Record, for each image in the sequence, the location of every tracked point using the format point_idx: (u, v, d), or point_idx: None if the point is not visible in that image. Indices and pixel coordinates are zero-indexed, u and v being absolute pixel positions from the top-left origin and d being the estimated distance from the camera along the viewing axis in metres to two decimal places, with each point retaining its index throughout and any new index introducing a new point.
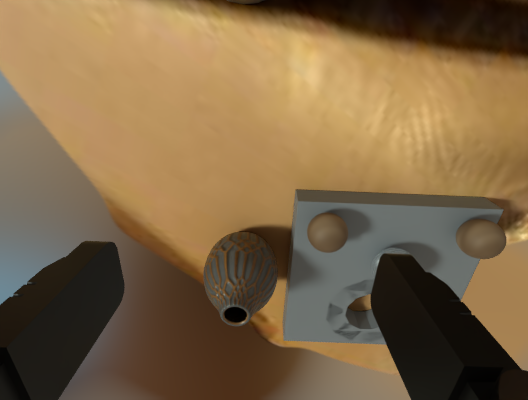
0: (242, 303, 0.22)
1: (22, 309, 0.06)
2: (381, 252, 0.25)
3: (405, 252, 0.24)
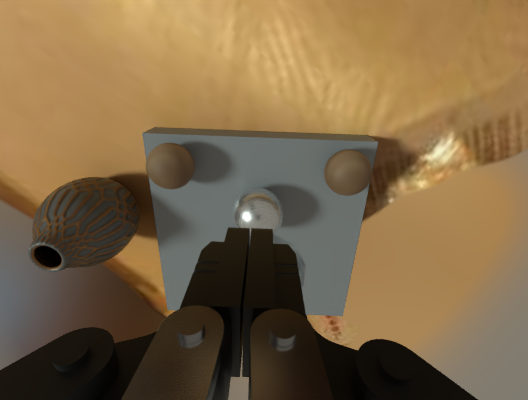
0: (51, 241, 0.18)
1: (226, 279, 0.07)
2: None
3: (264, 190, 0.21)
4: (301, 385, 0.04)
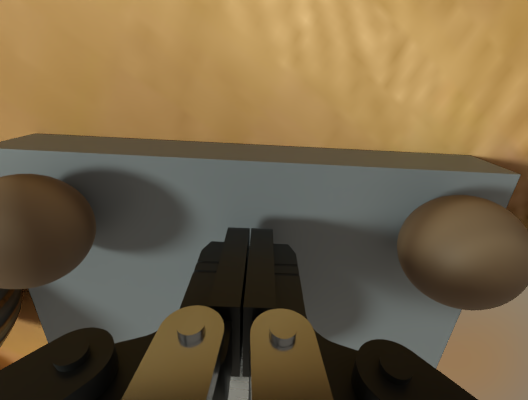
0: None
1: (226, 279, 0.07)
2: None
3: None
4: (301, 385, 0.04)
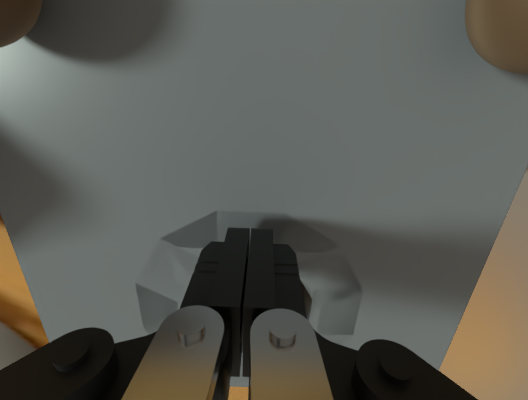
0: None
1: (226, 279, 0.07)
2: None
3: None
4: (301, 385, 0.04)
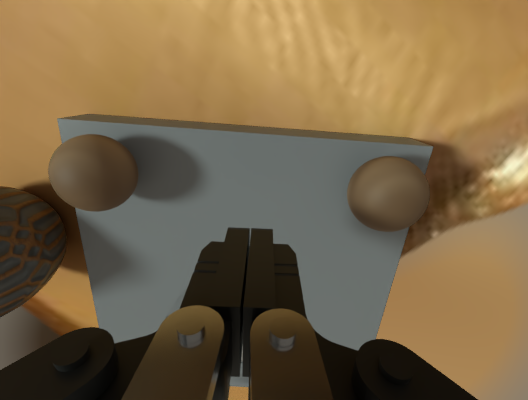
0: None
1: (226, 279, 0.07)
2: None
3: None
4: (301, 385, 0.04)
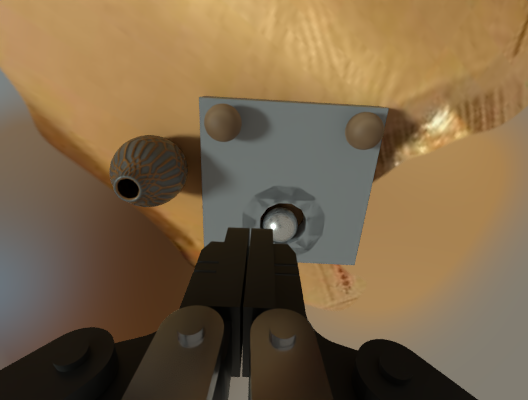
0: (132, 175, 0.23)
1: (226, 279, 0.07)
2: None
3: None
4: (301, 385, 0.04)
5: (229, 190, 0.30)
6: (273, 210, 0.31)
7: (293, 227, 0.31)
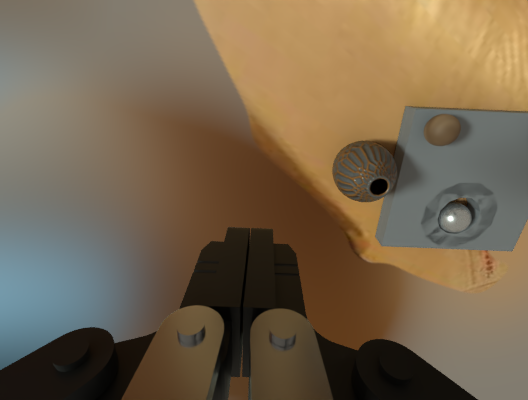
0: (385, 176, 0.28)
1: (226, 279, 0.07)
2: (443, 226, 0.36)
3: None
4: (301, 385, 0.04)
5: (419, 187, 0.35)
6: (450, 205, 0.36)
7: (470, 220, 0.35)
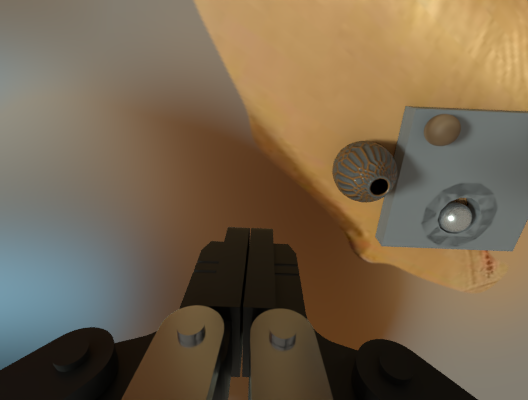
0: (385, 176, 0.28)
1: (226, 279, 0.07)
2: (444, 226, 0.36)
3: None
4: (301, 385, 0.04)
5: (420, 187, 0.35)
6: (450, 204, 0.36)
7: (471, 219, 0.35)
